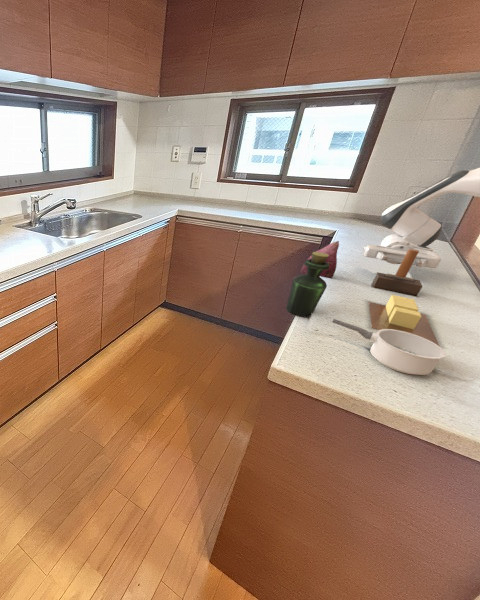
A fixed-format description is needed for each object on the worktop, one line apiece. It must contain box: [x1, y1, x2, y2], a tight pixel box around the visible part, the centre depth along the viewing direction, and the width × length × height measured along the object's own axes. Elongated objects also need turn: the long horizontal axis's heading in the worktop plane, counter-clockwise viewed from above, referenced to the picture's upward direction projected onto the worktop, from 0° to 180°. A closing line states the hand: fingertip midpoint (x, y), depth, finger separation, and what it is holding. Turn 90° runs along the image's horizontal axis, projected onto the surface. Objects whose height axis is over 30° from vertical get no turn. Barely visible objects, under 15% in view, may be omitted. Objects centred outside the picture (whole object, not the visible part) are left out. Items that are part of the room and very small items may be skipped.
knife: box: [385, 249, 419, 282], centre depth 107 cm, size 7×3×15 cm, turn 53°
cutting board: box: [368, 301, 440, 347], centre depth 90 cm, size 13×20×2 cm, turn 143°
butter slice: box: [389, 307, 422, 329], centre depth 87 cm, size 5×3×4 cm, turn 53°
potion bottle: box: [285, 251, 329, 318], centre depth 92 cm, size 8×8×18 cm
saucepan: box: [331, 318, 446, 376], centre depth 76 cm, size 12×20×6 cm, turn 47°
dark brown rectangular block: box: [371, 272, 423, 297], centre depth 109 cm, size 11×6×5 cm, turn 53°
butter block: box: [385, 294, 419, 317], centre depth 92 cm, size 5×8×4 cm, turn 143°
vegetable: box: [300, 240, 340, 280], centre depth 121 cm, size 10×10×15 cm
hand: (402, 261), depth 112 cm, fingers open, 8 cm apart
